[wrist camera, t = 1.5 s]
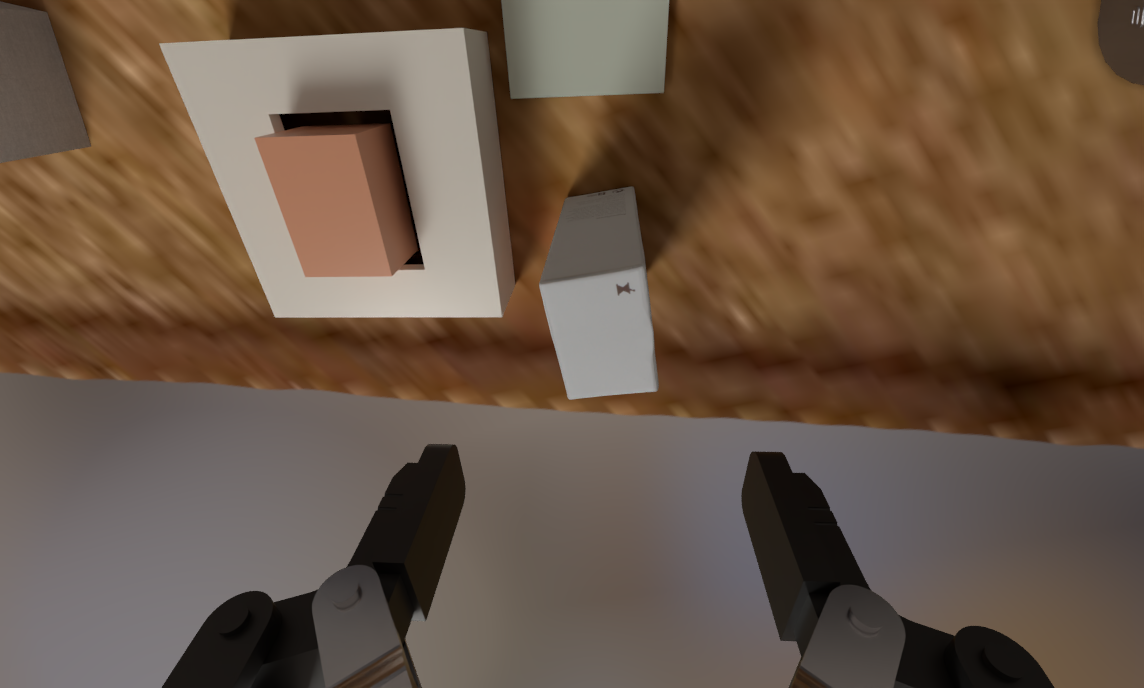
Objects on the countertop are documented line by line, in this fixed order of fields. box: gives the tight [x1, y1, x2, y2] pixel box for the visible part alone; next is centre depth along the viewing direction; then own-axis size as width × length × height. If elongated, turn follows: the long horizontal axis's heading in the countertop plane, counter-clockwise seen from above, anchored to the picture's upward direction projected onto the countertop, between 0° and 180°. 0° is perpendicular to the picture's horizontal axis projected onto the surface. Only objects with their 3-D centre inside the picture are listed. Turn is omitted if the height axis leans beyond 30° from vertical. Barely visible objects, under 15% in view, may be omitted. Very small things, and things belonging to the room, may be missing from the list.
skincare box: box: [539, 186, 659, 399], centre depth 24 cm, size 6×4×12 cm
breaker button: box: [254, 123, 418, 277], centre depth 24 cm, size 5×7×4 cm
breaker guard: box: [159, 28, 515, 317], centre depth 26 cm, size 14×14×4 cm
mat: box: [501, 0, 669, 99], centre depth 22 cm, size 8×8×1 cm
